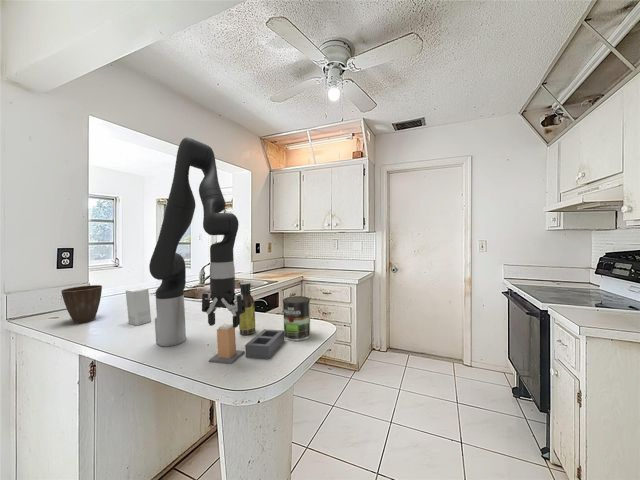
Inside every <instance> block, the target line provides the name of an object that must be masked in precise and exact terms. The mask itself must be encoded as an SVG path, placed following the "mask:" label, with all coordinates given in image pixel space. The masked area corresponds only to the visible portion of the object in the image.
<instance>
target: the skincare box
mask: <svg viewBox="0 0 640 480" xmlns="http://www.w3.org/2000/svg"><path fill="white" fill-rule="evenodd" d="M125 297H126V298H125V299H126V307H127V309H126V310H127V316H128V317H127V319H128V324H130V325H134V326H141V325H143V324H147V323H151V322H152V316H151V315H152V313H151V305H150V304H151V303H150V292H149V288H145V287H136V288H133V289H132V288H131V289H126V290H125Z"/></svg>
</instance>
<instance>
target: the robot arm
mask: <svg viewBox="0 0 640 480" xmlns="http://www.w3.org/2000/svg"><path fill="white" fill-rule="evenodd" d="M174 165H175V166H174V173H173V178H172V183H171V188H170V192H169V195H168V198H167V202H166V206H165V209H164V215H163V219H162V223H161V227H160V230H159V231H160V232H159V234H158V239H157V241H156V245H155V247H154V250H153V252H152V255H151V258H150V259H149V260H150V261H149V266H148V267H149V268H148V269H149V273H150V275H151V276H152V277H153V279H155V280H159V281H161V283H160V285H159V286H158V288H157V289H156V290H155V306H156V309H155V310H156V317H155V318H154V330H155V345H158V346H160V347H171V346H177V345H179V344H182V343H184V342H185V341H186V340H187V333H186V332H187V331H186V328H187V327H186V313H185V312H186V311H185V294H184V293H185V292H184V291H185V288H186V276H187V275H186V271H187V270H186V268H187V267H186V262H185V259H184V257H183V255H181V254H180V253H177V248H178V246H179V243H180V241H181V240H182V238H183V237H184V236H185V234H186V232H187V231H188V229H189V228H190V226H191V224H192V222H193V219H194V214H195V210H196V199H195V196H194V192H193V191H192V187H191V184H190V179H189V176H190V169H191V168H190V167H193V168H195V169H199V170H201V171H202V173H203V175H204V176H203V178H202V180H201V182H200V184H199V187H198V193H199V197H200V201H201V205H202V207H203V208H202V209H203V221H202V228H203V230H204V232H205V233H206V234H208V235H209V236H223V237H222V240H221V241H218V242H214V243H212V244H211V245H210V246H209V257H210V259H209V260H210V261H209V262H210V263H209V290H210V292H204V293H203V294H202V296H201V312H203V313H206V314H207V323H208V324H209V326H211V327H212V326H214V325H215V324H216V312H215V311H216V310H217V309H221V308H222V309H227V310H228V311H229V312H230V313H231V314H232V324H233V328H235V329H236V328H238V327H239V324H240V314H242V313H244V312H245V300H244V294H241V293H240V294H236V293H235V290H236V274H235V272H236V268H235V267H236V266H235V262H234V261H235V259H234V246H235V241H236V238H237V233H238V230H239V225H240V224H239V220H238V218H237V216H236V215H235V214H234V213H231V212H223V211H224V210H225V209H226V208H227V207H226V206H227V205H226V200H225V197H224V195H223V192H222V190H221V187H220V182H219V177H218V170H217V163H216V157H215V153H214V150H213V149H212V147H211V146H209V145H207V144H205V143H203V142H200V141H198V140H196V139H193V138H192V137H188V136H186V137H184V138H182V140H181V141H180V142H179V145H178V148H177V151H176V159H175V164H174ZM211 301H212V302H211ZM236 302H237V303H236Z"/></svg>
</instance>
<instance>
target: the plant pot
mask: <svg viewBox="0 0 640 480" xmlns="http://www.w3.org/2000/svg"><path fill="white" fill-rule="evenodd" d="M102 290H103V285H100V284H92V285H91V284H89V285H82V286H74V287H68V288H65V289H62V290H61V291H60V292H61V296H62V299H63V303H64V305H65V307H66V308H65V309H66V310H67V312H68V315H69V316H70V318H71V320H72V322H73V323H74V324H77V323H78V324H85V323H89V322H92V321H94V320H95V319H96V317H97V313H98V310H99V306H100V303H101V297H102Z"/></svg>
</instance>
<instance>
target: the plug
mask: <svg viewBox="0 0 640 480" xmlns="http://www.w3.org/2000/svg"><path fill="white" fill-rule="evenodd" d="M216 337H217V340H216V341H217V353H218V357H220V358H230V357H232V356H233V355H234V354H235V353H236V350H237V343H236V341H237V337H236V328H233V323H231V324H230V323H224V324H222V325H220V326H218V328H217V329H216Z"/></svg>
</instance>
